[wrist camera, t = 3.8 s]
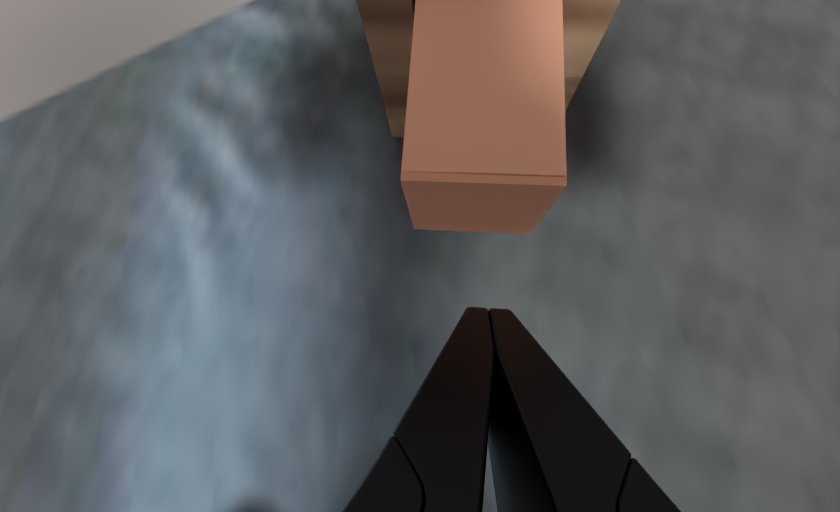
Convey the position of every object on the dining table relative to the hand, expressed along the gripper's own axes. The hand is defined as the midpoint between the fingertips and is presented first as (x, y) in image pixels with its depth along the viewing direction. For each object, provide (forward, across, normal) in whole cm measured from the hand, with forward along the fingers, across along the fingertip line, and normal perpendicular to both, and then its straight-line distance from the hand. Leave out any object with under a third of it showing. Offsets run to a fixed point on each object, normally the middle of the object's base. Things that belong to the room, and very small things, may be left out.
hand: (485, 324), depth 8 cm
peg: (+11, 0, -2) cm, 11 cm away
